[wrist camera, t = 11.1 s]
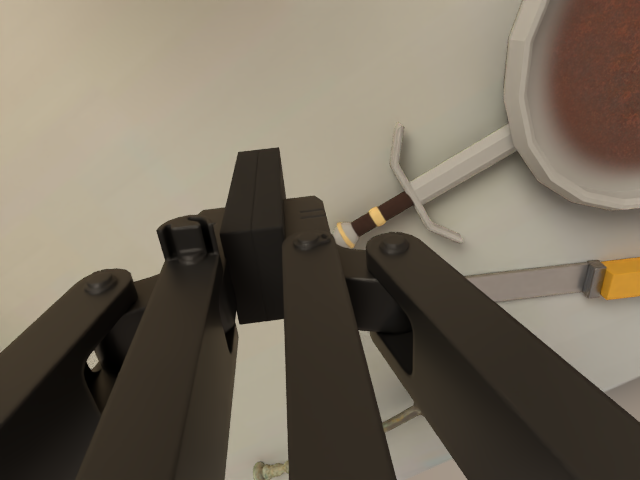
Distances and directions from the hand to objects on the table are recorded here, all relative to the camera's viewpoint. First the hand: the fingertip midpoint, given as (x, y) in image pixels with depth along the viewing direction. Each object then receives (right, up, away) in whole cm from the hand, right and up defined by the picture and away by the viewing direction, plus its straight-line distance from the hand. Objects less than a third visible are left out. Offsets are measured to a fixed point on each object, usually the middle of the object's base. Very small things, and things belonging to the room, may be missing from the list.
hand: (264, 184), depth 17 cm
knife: (+20, -5, +13) cm, 24 cm away
